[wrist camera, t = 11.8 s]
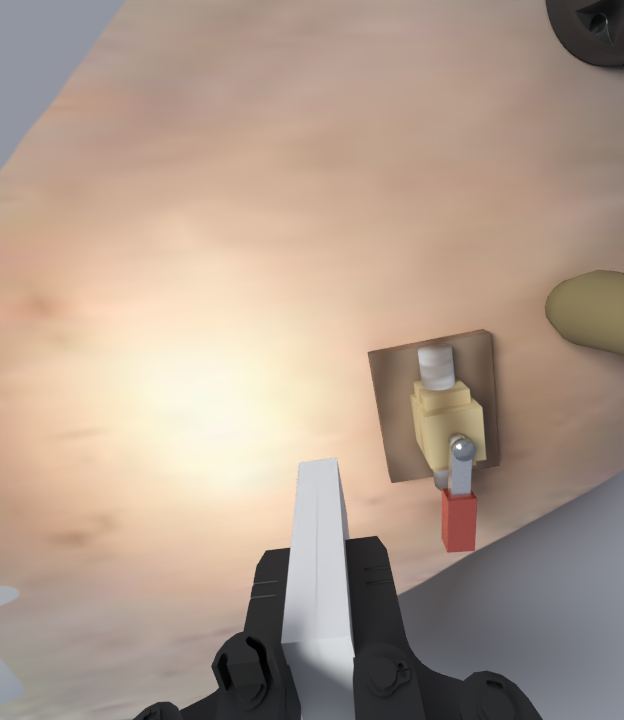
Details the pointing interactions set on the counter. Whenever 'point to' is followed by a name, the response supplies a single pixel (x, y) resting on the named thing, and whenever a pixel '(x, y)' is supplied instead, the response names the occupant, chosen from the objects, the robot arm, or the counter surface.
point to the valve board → (401, 386)
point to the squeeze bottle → (590, 310)
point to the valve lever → (459, 497)
